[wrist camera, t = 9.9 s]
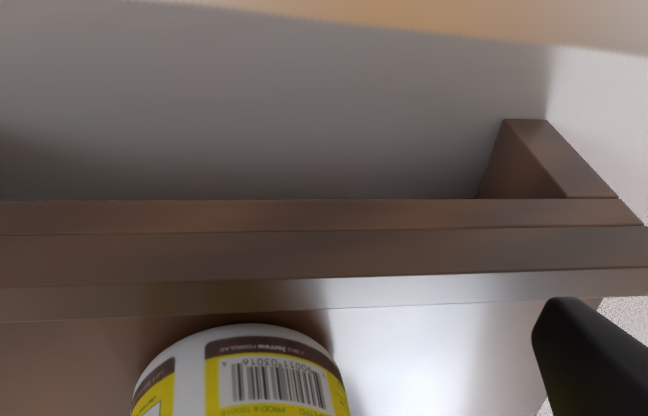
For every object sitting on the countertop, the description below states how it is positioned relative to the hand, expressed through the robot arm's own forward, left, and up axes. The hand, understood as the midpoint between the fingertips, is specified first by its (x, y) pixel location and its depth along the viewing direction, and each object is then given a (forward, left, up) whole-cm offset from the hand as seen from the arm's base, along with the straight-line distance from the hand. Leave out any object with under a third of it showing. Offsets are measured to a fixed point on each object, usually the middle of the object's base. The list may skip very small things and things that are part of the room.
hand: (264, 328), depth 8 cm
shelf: (-5, -4, -10) cm, 12 cm away
